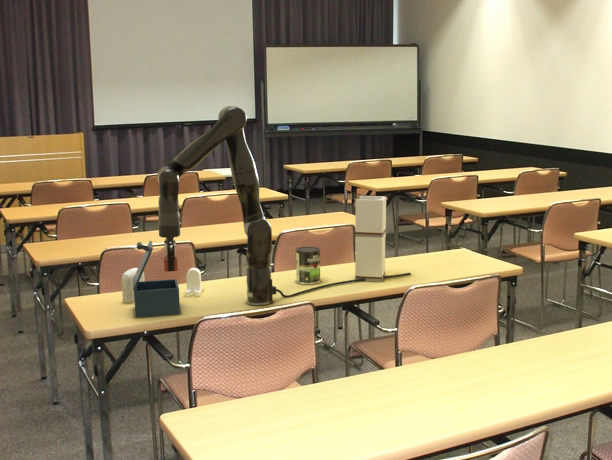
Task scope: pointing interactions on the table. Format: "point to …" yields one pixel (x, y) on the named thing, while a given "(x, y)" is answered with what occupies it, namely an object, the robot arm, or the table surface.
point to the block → (167, 264)
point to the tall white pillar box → (370, 238)
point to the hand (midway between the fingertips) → (170, 269)
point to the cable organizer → (193, 282)
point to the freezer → (157, 298)
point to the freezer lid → (142, 262)
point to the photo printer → (129, 285)
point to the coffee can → (308, 265)
